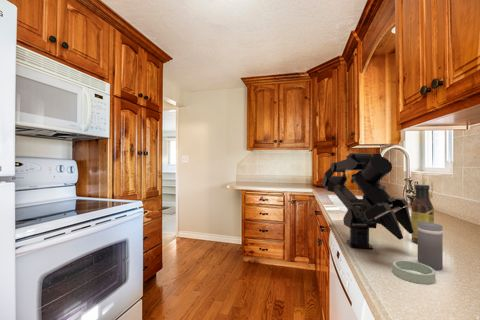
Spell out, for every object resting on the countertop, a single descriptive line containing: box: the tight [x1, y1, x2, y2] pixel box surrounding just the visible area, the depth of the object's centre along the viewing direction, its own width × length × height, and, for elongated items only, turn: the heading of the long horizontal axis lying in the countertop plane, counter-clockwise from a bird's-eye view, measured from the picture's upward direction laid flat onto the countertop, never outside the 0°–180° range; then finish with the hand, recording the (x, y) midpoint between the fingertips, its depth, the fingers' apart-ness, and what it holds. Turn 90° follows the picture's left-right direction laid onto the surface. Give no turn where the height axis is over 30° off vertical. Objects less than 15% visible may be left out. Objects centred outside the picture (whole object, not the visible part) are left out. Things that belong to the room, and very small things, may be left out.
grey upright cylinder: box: [417, 222, 444, 271], centre depth 64 cm, size 5×5×11 cm
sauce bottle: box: [410, 184, 435, 244], centre depth 83 cm, size 6×6×20 cm
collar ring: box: [392, 259, 436, 285], centre depth 58 cm, size 8×8×2 cm
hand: (406, 235), depth 67 cm, fingers open, 9 cm apart
